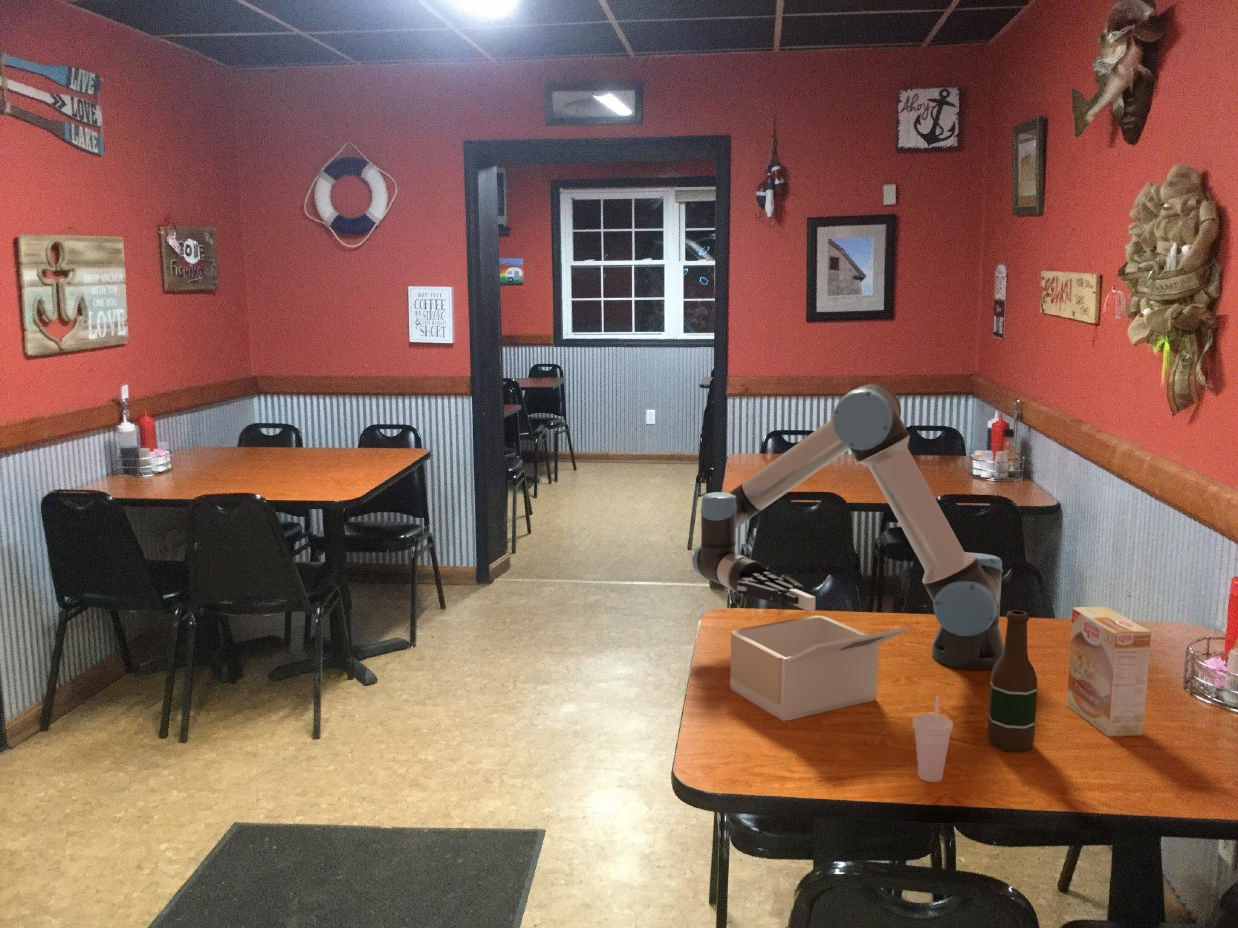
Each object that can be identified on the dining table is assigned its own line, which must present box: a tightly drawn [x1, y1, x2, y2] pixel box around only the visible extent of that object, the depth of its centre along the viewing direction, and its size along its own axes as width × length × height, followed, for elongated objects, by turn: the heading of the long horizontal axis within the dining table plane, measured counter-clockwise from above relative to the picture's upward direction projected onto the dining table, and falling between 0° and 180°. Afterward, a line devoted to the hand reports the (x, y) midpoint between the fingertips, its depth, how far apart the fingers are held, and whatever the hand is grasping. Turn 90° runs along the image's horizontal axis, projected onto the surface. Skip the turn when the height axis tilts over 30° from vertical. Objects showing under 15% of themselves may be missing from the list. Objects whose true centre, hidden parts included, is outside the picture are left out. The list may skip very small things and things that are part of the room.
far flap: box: [787, 626, 910, 662], centre depth 196 cm, size 10×21×1 cm, turn 116°
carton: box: [729, 614, 879, 722], centre depth 210 cm, size 19×23×12 cm
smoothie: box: [911, 694, 954, 783], centre depth 174 cm, size 6×6×14 cm
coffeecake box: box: [1065, 606, 1152, 738], centre depth 196 cm, size 15×7×20 cm, turn 5°
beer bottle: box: [987, 609, 1038, 754], centre depth 185 cm, size 8×8×24 cm
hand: (812, 604), depth 205 cm, fingers closed
